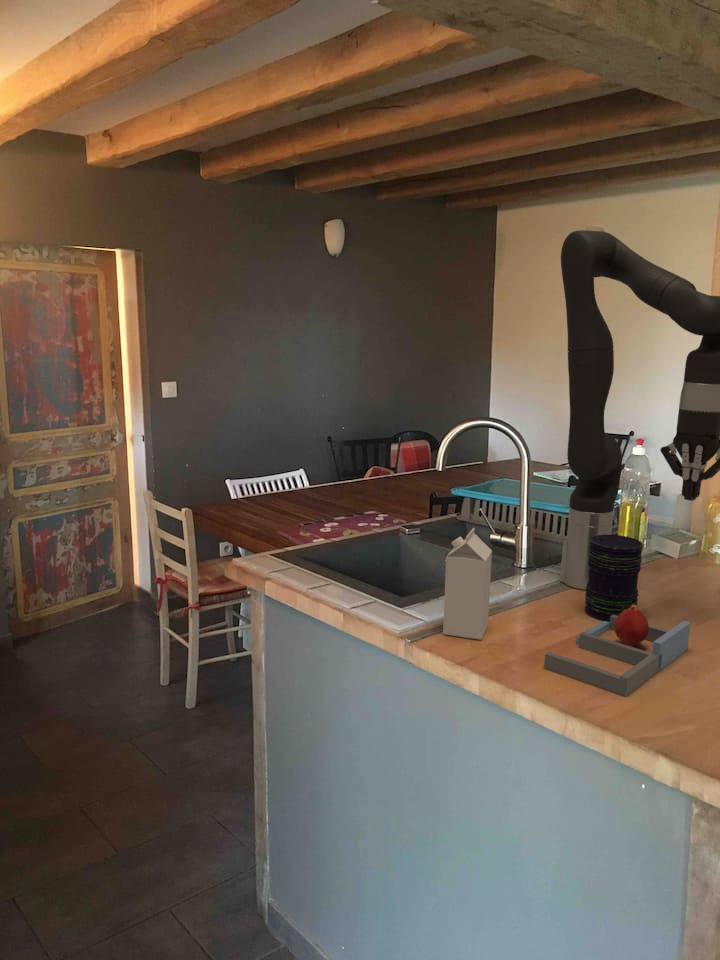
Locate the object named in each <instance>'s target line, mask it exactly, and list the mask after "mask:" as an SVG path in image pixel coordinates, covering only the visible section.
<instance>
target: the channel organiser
mask: <svg viewBox="0 0 720 960" xmlns="http://www.w3.org/2000/svg"><path fill="white" fill-rule="evenodd" d="M617 617H618V616H617V615H612V616H610V622H606V621H601V622H599V623H598V624H596V625H595V626H593V627H591V628H589V629H587V630H585V631H582V632H580V633H579V635H578V636H576V637H575V644H578V648H581V649H583V650H587V651H590V652H592V653H596V654H600V655H603V656H605V657H609V658H612V659H615V660H619V661H622V662H625V663H627V664H630V665H633V666H632V667H631V668H629V669H628V670H626V671H625V672H624V673H622V674H621V675H619V674H618V673H617V674H616V673H613V672H610V671H608V670H604V669H601V668H599V667H596V666H592V665H590V664H586V663H583V662H580V661H578V660H574V659H572V658H569V657H567V656H563V655H559V654H556V653H554V652H551V651H547V652H546V653H545V654H544V664H543V668H544V669H546V670H549V671H552V672H554V673H558V674H560V675H564V676H566V677H569V678H572V679H574V680H577V681H580V682H583V683H586V684H589V685H591V686H594V687H598V688H601V689H603V690H607V691H609V692H612V693H614V694H617V695H620V696H623V697H628V695H630V694H631V693H632V692H634V691H635V690H637V689H638V688H639V687H640V686H642V685H644V684H645V683H646V682H647V681H648V680H650V679H651V678H653V676H655V675H656V674H657V673H658V672H661V670H662V669H664V668H665V667H666V666H668V665H669V664H670V663H672V662H673V661H674V660H675V659H678V657H680V656H681V655H683V653H685V652H686V651H688V650H689V641H690V640H689V639H690V632H691V622H689V621H686V620H682V621H681V622H680V623H678V624H677V625H675V626H674V627H672V628H671V629H670V630H669V629H666V628H662V627H659V626H656V625H652V624H649V623H648V625H649V633H648V636H647V637H646V639H645V640H646V641H649V642H652V652H650V651H646V650H643V649H640V648H637V647H635V646H634V647H631V646H627V645H625V644H624V643H621V642H617V641H613V640H611V639H607V638H604V637H601V636H599V635H602V634H603V633H604V632H606V631H609V629H610V630H612V631H615V628H614V624H615V620H616V618H617Z"/></svg>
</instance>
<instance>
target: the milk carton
mask: <svg viewBox="0 0 720 960" xmlns="http://www.w3.org/2000/svg"><path fill="white" fill-rule="evenodd" d="M475 529H476V528H475V527H472V529H471V530H470V531H469V532H468V534H467V535H466V536H465V539H463V537H462V536H458V537H457V538H456V539H454V540H453V541H452V542H451V545H452V546H453V548H452V550H451V551H450V552H449V553H448V554H447V556H446V558H445V559H446V560H445V576H444V578H445V579H444V598H443V599H444V601H443V603H444V604H443V606H444V607H443V627H442V630H443V631H442V634H443V635H444V636H445V635H446V636H453V637H460V638H467V639H471V640H478V641H479V640H483V637H484V635H485V633H486V631H487V629H488V626H489V615H490V614H489V613H490V611H489V610H490V596H491V594H490V593H491V592H490V591H491V574H492V560H493V559H492V556H493V555H492V554H493V550H492V549H491V548H490V547H489V546H488V545H487V544H486V543H485V542H484V541H483V540H482V539H481V538H480V537H479V536H478V535H477V534H476V533H475Z"/></svg>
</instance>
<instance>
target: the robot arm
mask: <svg viewBox="0 0 720 960" xmlns="http://www.w3.org/2000/svg"><path fill="white" fill-rule="evenodd" d="M560 267H561V269H560V270H561V274H562V275H561V277H562V284H563V290H564V299H565V300H564V301H565V311H566V312H565V313H566V326H567V329H566V330H567V369H568V370H567V371H568V393H569V394H568V395H569V428H568V439H567V454H566V455H567V462H568V463H567V464H568V467H569V469H570V470H571V472H572V473H573V475H574V476H576V477H577V478H578V479H577V483H576V485H575V488H574V489H573V490H572V493H570V497H569V505H568V506H569V507H568V509H569V510H568V519H567V520H568V522H567V534H566V539H563V540H562V541H563V542H562V553H561V563H560V564H561V565H560V578H559V579H560V580H559V582H560V581H561V583H564V584H565V585H567V586H568V587H571V588H575V589H578V590H585V591H586V585H587V584H588V580H589V566H588V561H589V550H590V545H591V544H590V539H591V537H593V536H596V535H612V532H613V529H612V528H613V518H614V510H615V509H614V507H615V503H616V499H617V498H618V493H619V491H620V490H619V489H620V482H621V473H622V466H623V453H622V449H621V448H622V447H621V446H620V444H619V442H618V441H617V439H615V438H614V437H612V436H611V435H609V434H606V431H605V409H606V404H607V401H608V397H609V393H610V389H611V386H612V384H613V378H614V377H613V376H614V371H615V364H614V363H615V358H614V357H615V355H614V353H615V351H614V341H613V335H612V333H611V331H610V328H609V326H608V324H607V322H606V320H605V319H604V316H603V314H602V313H601V311H600V308H599V306H598V303H597V299H596V293H595V278H600V277H602V278H603V277H604V278H605V279H606V278H607V279H611V280H614V281H618V282H619V283H621V284H624V285H626V286H627V287H628V288H629V289H630V290H631V291H632V292H633V293H634V295H635V296H636V297H637V298H638V299H639V300H640V301H642V302H643V303H644V304H646V305H647V306H649V307H651V308H653V309H654V310H656V311H658V312H660V313H662V314H664V315H667V316H668V317H669V319H671V320H672V321H673V322H675V324H677V325H678V326H679V327H680V328H681V329H683V330H684V331H686V332H688V333H690V334H694V335H696V336H701V340H700V344H699V346H698V347H697V348H696V349H694V350H691V351H690V352H688V354H687V356H686V361H685V366H684V375H683V382H682V389H681V392H680V397H679V404H678V405H679V407H678V414H677V422H676V423H677V424H676V433H675V436H674V437H673V439H672V442H671V443H669V444H668V445H665V446H661V447H660V452H661V454H662V456H663V457H664V459H665V461H666V462H667V464H668V466H669V467H670V469H671V471H672V472H673V474H674V475H675V476H679V477H680V478H682V486H681V487H682V488H681V496H682V497H683V500H685V501H691V502H692V501H696V500H697V498H699V497H700V495H701V488H702V481H705V480H706V481H707V480H708V479H711V478H714V477H715V475H717V474H718V473H719V472H720V295H709V294H706V293H703V292H701V291H698V290H697V288H696V286H695V285H694V284H693V283H692V282H691V281H689V280H687V279H686V278H684V277H682V276H679V275H678V274H676V273H673V272H671V271H669V270H667V269H666V268H663V267H661V266H658V264H655V263H653V262H651V261H649V260H648V259H646V258H644V257H643V256H642V255H639V253H637V252H635V251H634V250H633V249H631V248H630V247H629V246H628V245H627V244H625V243H623V241H621V240H620V239H618V237H616V236H615V235H614V234H611V233H609V232H606V231H602V230H601V231H599V230H585V229H584V230H573V231H572V232H570V233H569V234H568V235H567V236H566V237H565V238H564V241H563V243H562V246H561V251H560ZM677 453H678V455H679V457H680V458H681V461H680V459H679V458H678V455H677ZM715 455H716V456H715ZM714 456H715V458H714ZM712 458H714V460H715V462H714V463H713V464H712V465H711V466H709V467H708V469H706V468H707V465H708V462H709V461H711V459H712Z"/></svg>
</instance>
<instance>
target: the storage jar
mask: <svg viewBox="0 0 720 960" xmlns="http://www.w3.org/2000/svg"><path fill="white" fill-rule="evenodd" d="M590 544H591V545H590V550H589V561H588V566H589V580H588V584H587V585H586V590H585V595H584V596H585V597H584V599H585V601H584V602H585V606H584V612H585V614H586V615H587V616H588V617H590V618H592V619H595V620H596V621H597V620H598V621H601V622H603V621H606V622H609V623H610V616H612V615H617V616H618V615H619V614H620V613H622V612H623V611H624V610H626V609H629V608H630V607H631V606H632V605H636V606H638V601H639V600H638V597H639V590H638V578H639V574H640V572H641V569H642V567H641V565H642V564H641V563H642V556H643V555H642V553H643V552H642V549H643V542H642V541H641V540H639V539H636V538H633V537H630V536H626V535H625V536H624V535H617V534H611V535H596V536H593V537H591V539H590Z"/></svg>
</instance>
